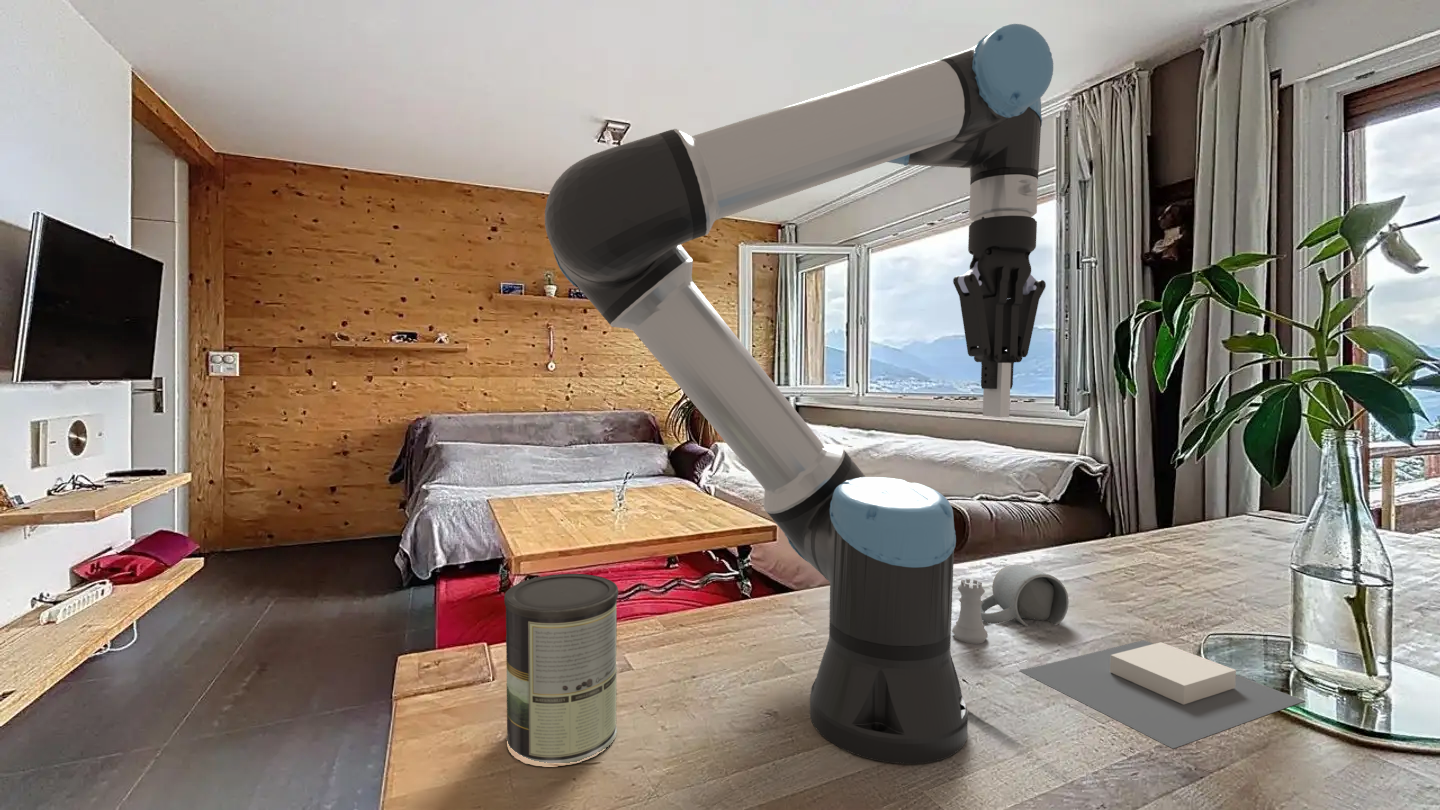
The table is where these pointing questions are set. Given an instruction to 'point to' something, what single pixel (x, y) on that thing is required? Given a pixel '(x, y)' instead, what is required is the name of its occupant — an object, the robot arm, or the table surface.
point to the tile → (1173, 672)
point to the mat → (1157, 699)
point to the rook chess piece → (970, 614)
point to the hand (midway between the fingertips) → (995, 416)
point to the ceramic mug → (1025, 596)
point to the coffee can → (561, 666)
